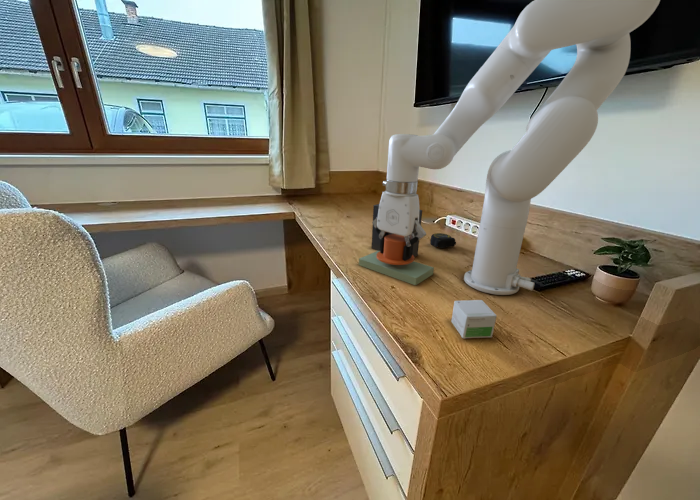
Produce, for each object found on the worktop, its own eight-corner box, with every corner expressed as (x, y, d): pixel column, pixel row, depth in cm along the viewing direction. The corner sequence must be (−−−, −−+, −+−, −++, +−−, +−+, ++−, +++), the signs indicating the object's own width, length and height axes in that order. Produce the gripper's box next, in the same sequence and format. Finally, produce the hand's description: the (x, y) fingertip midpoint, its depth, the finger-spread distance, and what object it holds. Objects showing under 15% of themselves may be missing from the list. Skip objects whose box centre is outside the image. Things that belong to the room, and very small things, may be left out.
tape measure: (436, 250, 98) (438, 239, 97) (426, 243, 104) (427, 233, 103) (455, 249, 100) (457, 238, 99) (443, 242, 106) (445, 232, 105)
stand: (433, 274, 81) (434, 267, 80) (415, 285, 75) (416, 278, 74) (378, 256, 92) (378, 250, 92) (358, 265, 86) (358, 258, 85)
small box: (462, 339, 55) (466, 316, 53) (450, 321, 60) (453, 299, 59) (493, 338, 56) (498, 315, 54) (478, 320, 61) (482, 298, 59)
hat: (421, 257, 83) (423, 238, 81) (400, 268, 76) (402, 247, 74) (390, 248, 89) (391, 230, 87) (368, 257, 82) (369, 237, 80)
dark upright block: (417, 255, 94) (422, 210, 89) (408, 259, 90) (413, 213, 86) (380, 244, 103) (383, 202, 98) (371, 248, 99) (373, 205, 94)
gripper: (364, 184, 79) (361, 250, 85) (425, 194, 68) (416, 269, 74) (381, 182, 84) (377, 244, 90) (440, 190, 73) (431, 260, 80)
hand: (395, 255), depth 82 cm, fingers closed on hat, 6 cm apart
